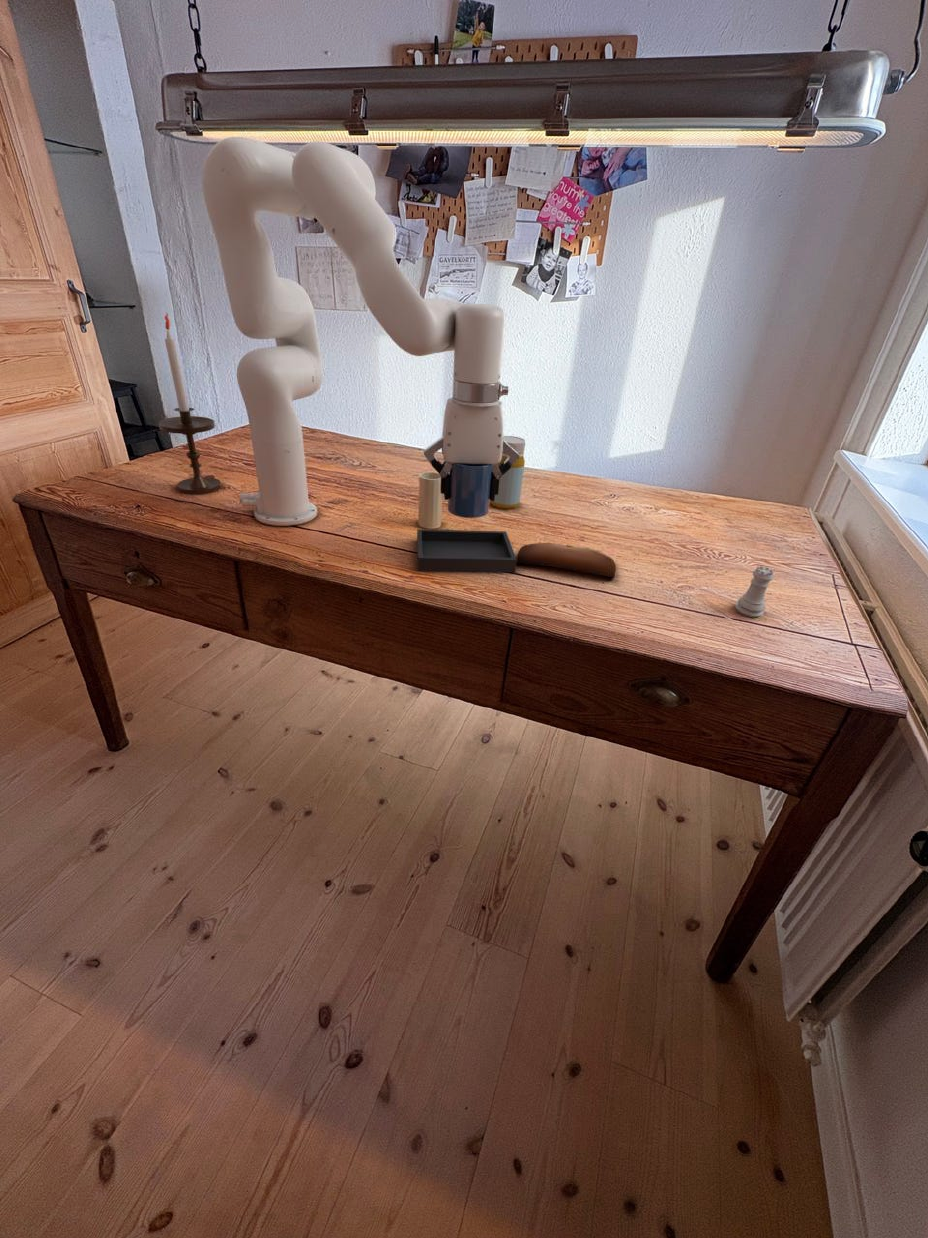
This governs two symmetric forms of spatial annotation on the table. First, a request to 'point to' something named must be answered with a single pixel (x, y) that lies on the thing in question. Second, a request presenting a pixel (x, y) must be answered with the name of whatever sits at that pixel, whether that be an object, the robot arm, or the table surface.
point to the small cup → (430, 500)
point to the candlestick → (187, 425)
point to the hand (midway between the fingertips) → (468, 497)
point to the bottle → (511, 477)
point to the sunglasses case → (567, 558)
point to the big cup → (469, 490)
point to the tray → (464, 551)
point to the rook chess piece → (755, 593)
